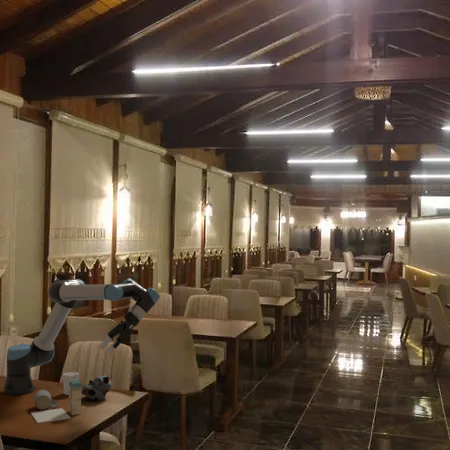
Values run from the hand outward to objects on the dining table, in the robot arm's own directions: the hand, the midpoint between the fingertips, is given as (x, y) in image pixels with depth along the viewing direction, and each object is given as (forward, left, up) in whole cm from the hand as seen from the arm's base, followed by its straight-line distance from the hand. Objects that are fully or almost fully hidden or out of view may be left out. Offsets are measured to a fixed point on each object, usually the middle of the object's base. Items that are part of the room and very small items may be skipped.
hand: (104, 350), depth 268 cm
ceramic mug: (-14, -24, -27) cm, 39 cm away
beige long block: (0, -14, -27) cm, 30 cm away
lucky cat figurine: (-18, +1, -27) cm, 32 cm away
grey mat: (0, -25, -27) cm, 37 cm away
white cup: (-33, -8, -27) cm, 43 cm away
